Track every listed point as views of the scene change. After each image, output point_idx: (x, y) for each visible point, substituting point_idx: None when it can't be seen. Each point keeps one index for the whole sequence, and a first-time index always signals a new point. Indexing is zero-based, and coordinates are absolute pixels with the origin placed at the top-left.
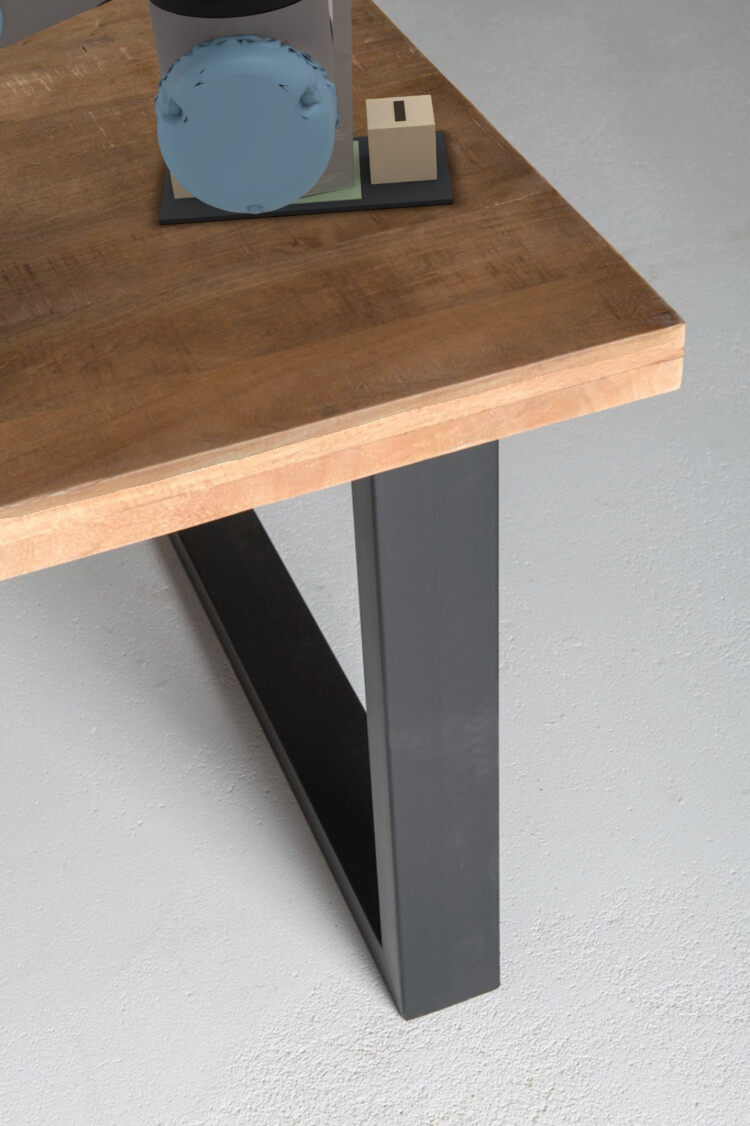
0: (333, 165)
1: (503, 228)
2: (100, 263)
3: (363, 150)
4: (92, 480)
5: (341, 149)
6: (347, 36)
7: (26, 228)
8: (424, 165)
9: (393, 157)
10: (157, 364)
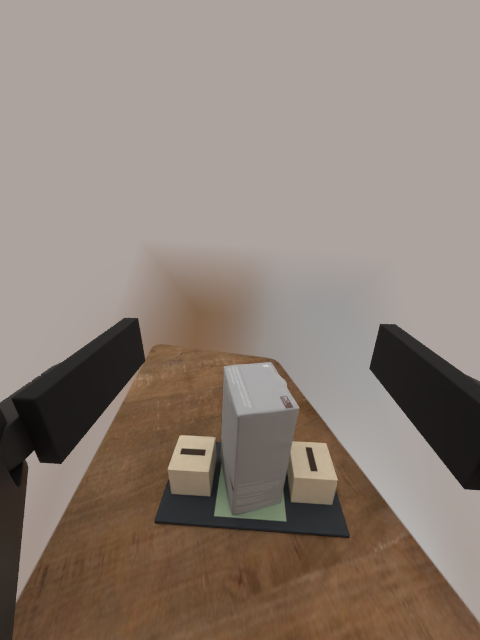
0: (270, 496)
1: (401, 593)
2: (96, 578)
3: None
4: None
5: (276, 488)
6: (291, 434)
7: (76, 507)
8: (326, 497)
9: (307, 492)
10: None
